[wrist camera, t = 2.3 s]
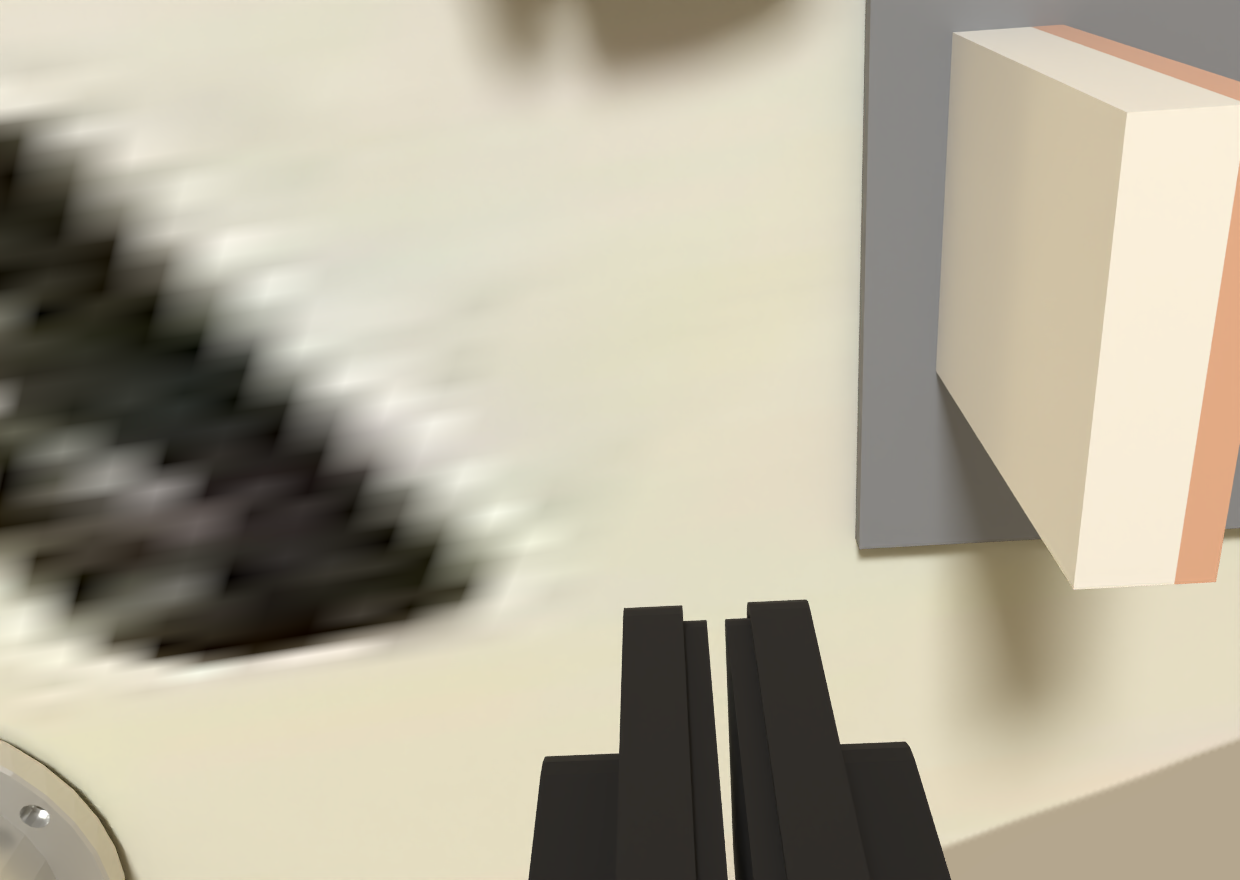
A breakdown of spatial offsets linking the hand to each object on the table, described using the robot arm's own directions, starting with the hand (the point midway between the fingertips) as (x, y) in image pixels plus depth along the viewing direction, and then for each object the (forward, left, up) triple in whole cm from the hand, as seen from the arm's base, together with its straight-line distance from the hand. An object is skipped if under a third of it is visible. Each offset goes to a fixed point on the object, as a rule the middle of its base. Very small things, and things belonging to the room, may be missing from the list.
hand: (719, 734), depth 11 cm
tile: (0, -8, -19) cm, 20 cm away
